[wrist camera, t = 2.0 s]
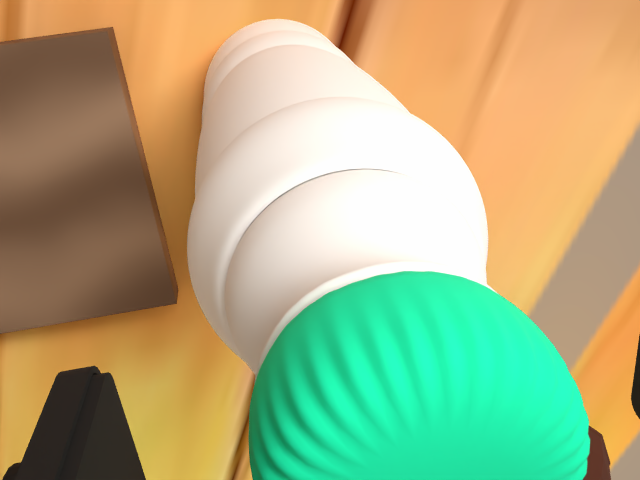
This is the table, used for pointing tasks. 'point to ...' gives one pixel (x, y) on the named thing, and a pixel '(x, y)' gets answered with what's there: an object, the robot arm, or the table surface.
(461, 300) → the water bottle
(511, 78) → the table surface
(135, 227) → the walnut board
